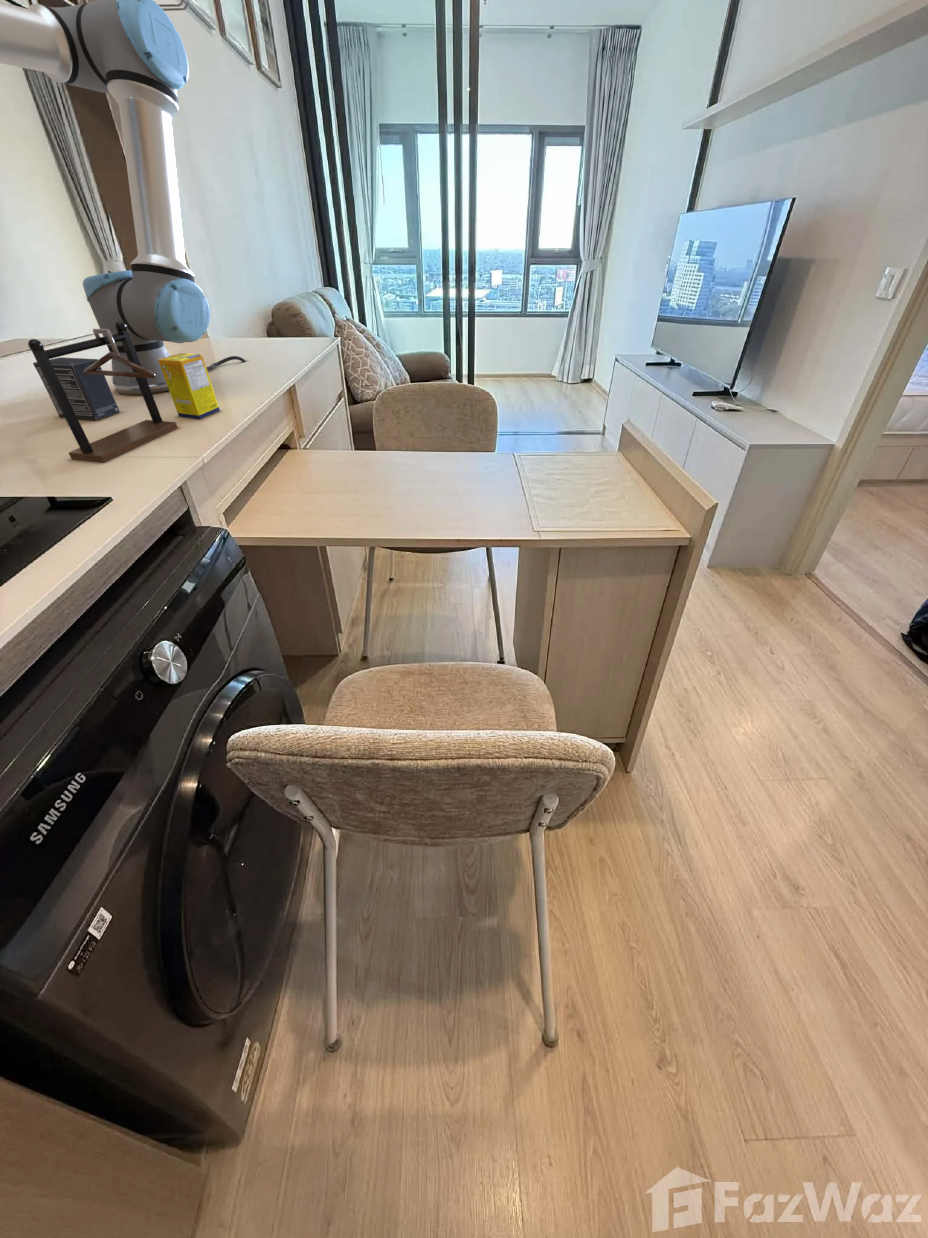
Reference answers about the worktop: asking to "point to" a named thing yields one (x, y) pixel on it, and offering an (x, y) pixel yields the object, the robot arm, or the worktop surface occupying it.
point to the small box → (81, 388)
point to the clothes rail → (87, 451)
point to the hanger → (92, 368)
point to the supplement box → (189, 385)
